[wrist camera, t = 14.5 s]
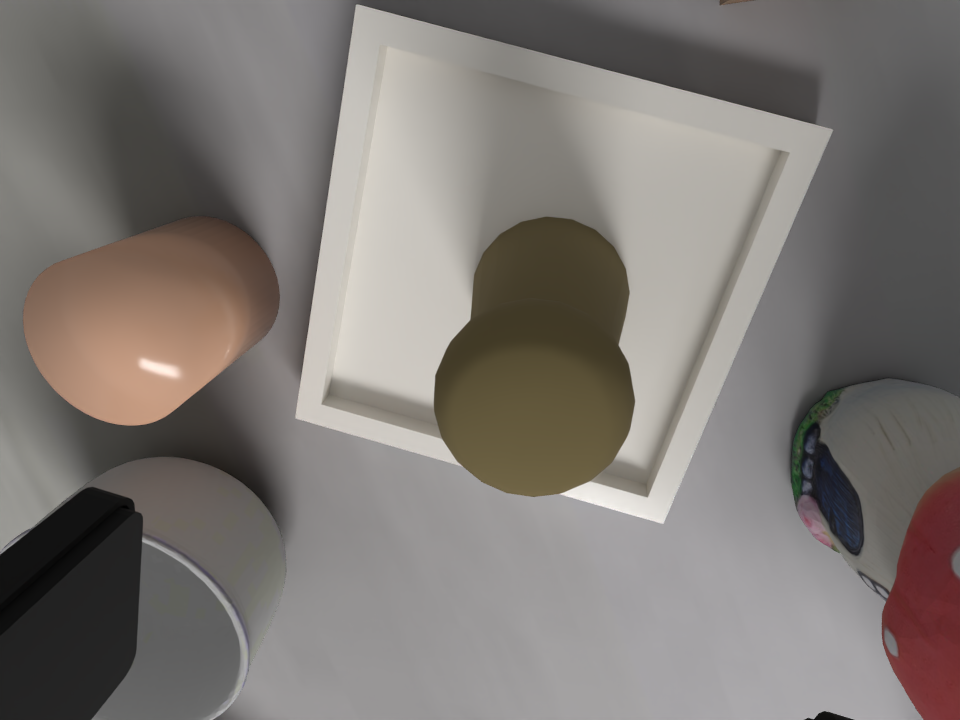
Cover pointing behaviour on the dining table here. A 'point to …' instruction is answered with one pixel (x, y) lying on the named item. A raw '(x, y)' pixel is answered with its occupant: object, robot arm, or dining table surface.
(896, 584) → the decorative ornament
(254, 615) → the teacup
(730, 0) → the walnut block
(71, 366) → the peach rounded cylinder
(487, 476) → the cork
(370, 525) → the dining table surface
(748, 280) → the tray
